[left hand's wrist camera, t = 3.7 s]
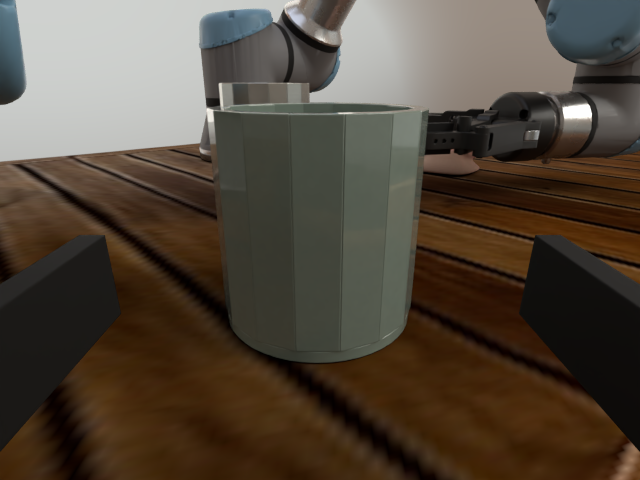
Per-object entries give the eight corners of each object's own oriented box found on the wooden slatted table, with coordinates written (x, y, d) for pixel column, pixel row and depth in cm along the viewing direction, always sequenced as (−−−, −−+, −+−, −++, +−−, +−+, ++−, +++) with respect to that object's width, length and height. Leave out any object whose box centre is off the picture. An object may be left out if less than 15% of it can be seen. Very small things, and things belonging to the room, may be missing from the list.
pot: (194, 306, 23) (168, 106, 19) (318, 256, 30) (318, 101, 26) (317, 396, 16) (316, 118, 12) (442, 306, 23) (467, 106, 19)
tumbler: (214, 209, 41) (202, 83, 37) (276, 195, 47) (271, 83, 42) (263, 228, 36) (255, 82, 32) (326, 209, 41) (327, 83, 37)
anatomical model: (485, 147, 54) (399, 144, 57) (481, 176, 55) (397, 171, 58) (480, 136, 65) (409, 134, 69) (477, 160, 67) (407, 157, 70)
